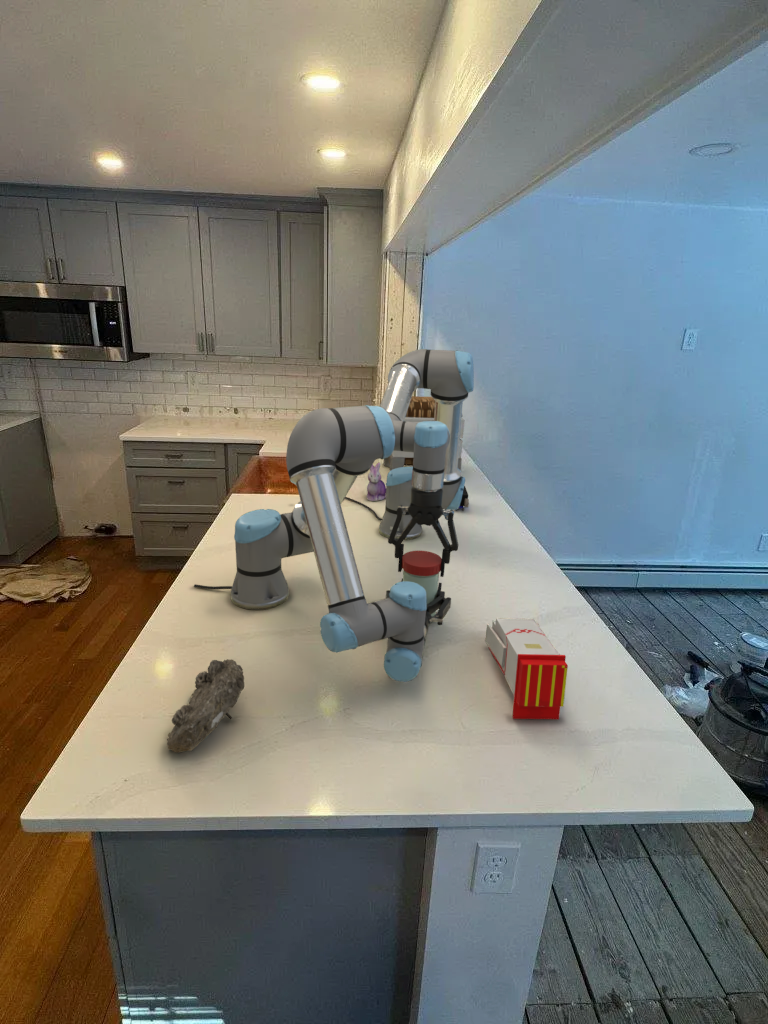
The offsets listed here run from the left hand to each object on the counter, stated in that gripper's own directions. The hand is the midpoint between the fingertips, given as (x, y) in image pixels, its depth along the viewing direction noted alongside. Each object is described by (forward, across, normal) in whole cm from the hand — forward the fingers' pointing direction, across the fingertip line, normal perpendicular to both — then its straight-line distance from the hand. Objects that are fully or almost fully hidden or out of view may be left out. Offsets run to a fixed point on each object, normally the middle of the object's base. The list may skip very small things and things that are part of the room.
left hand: (421, 585), depth 149 cm
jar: (-5, 0, -7) cm, 8 cm away
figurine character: (+86, +6, -7) cm, 86 cm away
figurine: (+87, -28, -7) cm, 92 cm away
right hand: (-5, 0, +6) cm, 8 cm away
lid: (-5, 0, +9) cm, 10 cm away
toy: (-25, +24, -7) cm, 36 cm away
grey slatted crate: (+131, -15, -7) cm, 132 cm away
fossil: (-52, -34, -7) cm, 62 cm away
